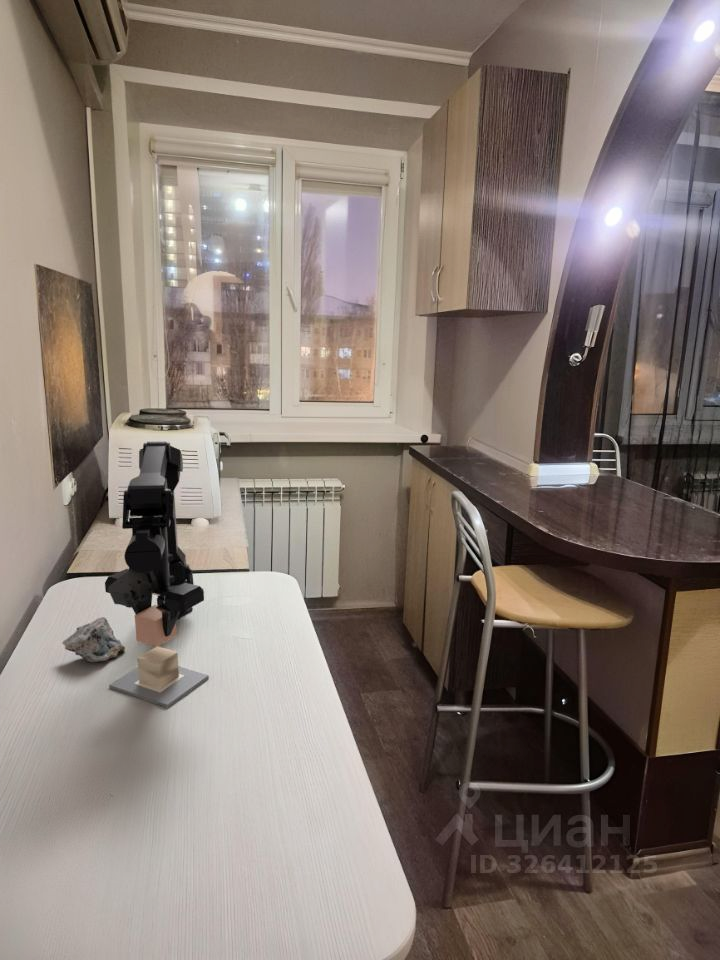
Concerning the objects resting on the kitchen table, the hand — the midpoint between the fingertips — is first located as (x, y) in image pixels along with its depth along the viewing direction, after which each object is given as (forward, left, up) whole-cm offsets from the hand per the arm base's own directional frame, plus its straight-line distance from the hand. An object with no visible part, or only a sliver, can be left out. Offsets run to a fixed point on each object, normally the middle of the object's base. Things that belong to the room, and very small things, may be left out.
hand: (156, 632), depth 116 cm
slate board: (0, 0, -10) cm, 10 cm away
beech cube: (0, 0, -10) cm, 10 cm away
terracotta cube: (0, 0, -1) cm, 1 cm away
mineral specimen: (-1, -19, -11) cm, 21 cm away
